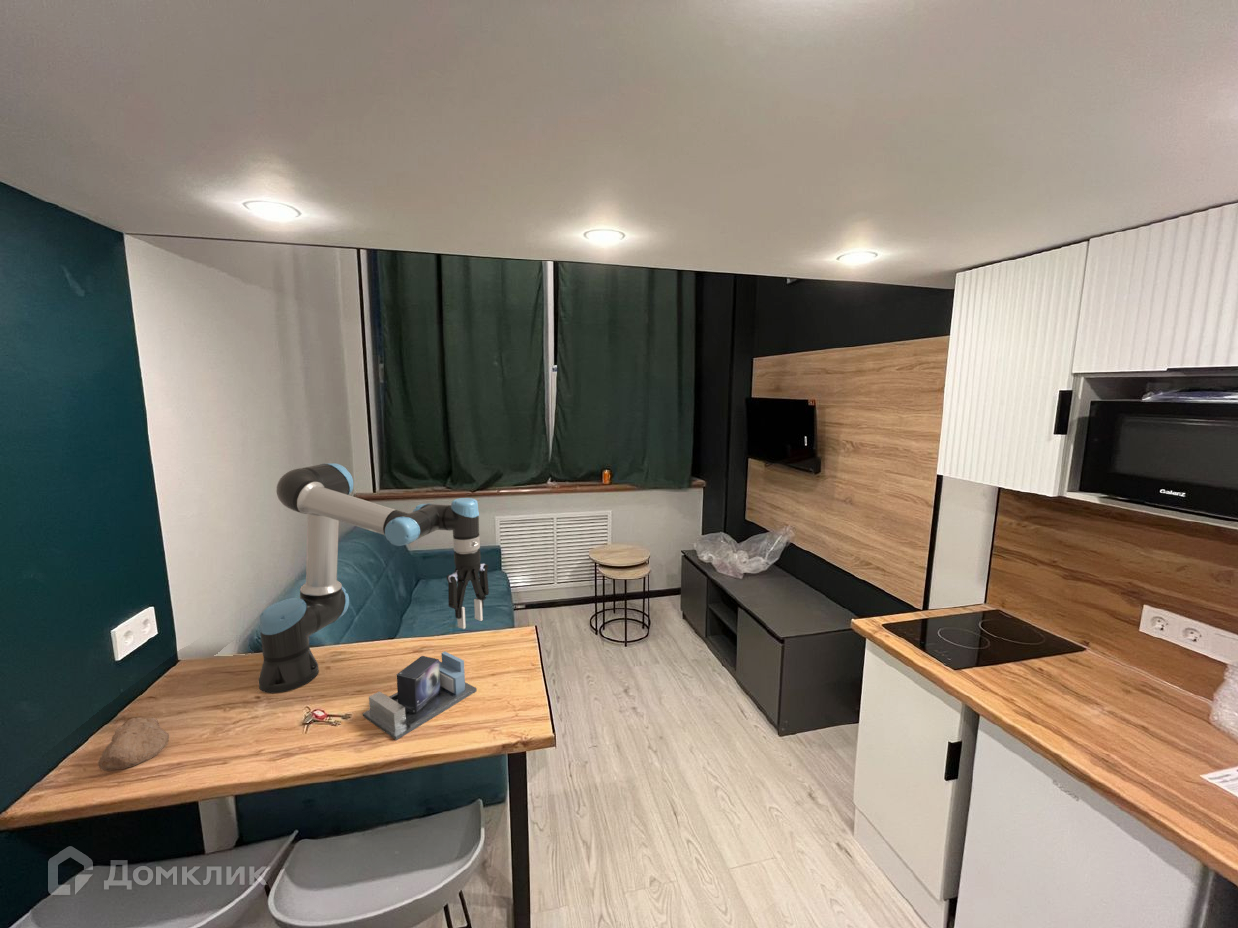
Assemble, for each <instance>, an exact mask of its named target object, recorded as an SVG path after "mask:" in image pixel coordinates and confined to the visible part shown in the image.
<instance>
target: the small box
mask: <svg viewBox="0 0 1238 928" xmlns="http://www.w3.org/2000/svg"><path fill="white" fill-rule="evenodd" d="M439 661H440V659H439V658H435V657H431V656H425V655H421V656H419V657H418V658H417V659H416V660H414V661H413V662H411V663H410V664H409V665H407V666H406V667H405V668H403V669H402V670H400V671H399V672H398V673H397V674H396V690H397V692H396V693H398V703H399V704H401V705H402V706H404V707H405V711H406V712H410V713H415V714H416V713H418V712H419V711H420V710H421V709H422V708H423V707H424V706H425V705H427V704H428V703H429V702H430V701H431V700H432V699H433V698H434V697H436V696H437V695H438V694H439V693H440V671H439Z"/></svg>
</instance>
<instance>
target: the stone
mask: <svg viewBox="0 0 1238 928" xmlns="http://www.w3.org/2000/svg"><path fill="white" fill-rule="evenodd" d="M169 738H170V734H169V732H166V730H164V729H163V728H162V727H161V726H160V724H159V721H158V719H157V718H155V717H150V716H149V717H140V716H139V717H138V716H137V717H132V718H130V719H127V720H126V721H124V723H123V724H122V725H120V727H119V726H118V727H117V728H116V729H115V730H114V734H113V736H112V737H111V742H110V743H108V744H107V746H106V747H105V749H104V750H103V751H102V754H101V756H100V757H99V760H98V763H97V765H98V767H99V768H100V770H101V771H102V770H103V771H107V772H109V771H115V770H119V769H121V770H122V769H127V768H130V767H135V766H137V765H139V764H141V763H145V762H147V761H150V760H151V759H153V758H154V757H155V756H157V755H158V754H159V753H160V752H161V751H162V750H163V748H165V747H166V746H167V745H168V742H169Z"/></svg>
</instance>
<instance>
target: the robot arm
mask: <svg viewBox="0 0 1238 928" xmlns="http://www.w3.org/2000/svg"><path fill="white" fill-rule="evenodd" d="M353 490H354V478H353V476H352V474H351V473H350V471H348V469H347V468H346V467H345V466H343V465H342V464H339V463H334V462H333V463H332V462H331V463H320V464H316V465H311V466H306V467H299V468H295V469H294V468H293V469H291V470H289V471H287V472H286V473H285V474H283V475H282V476H281V477H280V478H279V480H278V481H277V485H276V491H275V492H276V496H277V498H278V500H279V501H280V502H281V504H282V505H283V506H285V507H286V508H287V509H290V510H291V511H294V512H298V513H300V514H304V515H307V518H306V519H307V520H306V523H307V525H306V560H305V561H306V562H305V563H306V566H305V569H306V570H305V583H304V584H303V585H301V587H300V590H299V597H292V598H291V597H290V598H286V599H284V600H279V601H276V602H274V603H272V604H270V605H268V606H267V607H266V608H265V609H264V610H263V611H262V612H261V613H260V615H259V626H258V627H259V632H260V640H261V648H262V657H263V663H262V665H261V670H260V673H259V677H258V688H259V690H260V691H261V692H264V693H267V694H279V693H284V692H289V691H292V690H296V689H298V688H301V687H303V686H304V685H307V684H308V683H310V682H312V681H313V680H314V679H315V678H316V677H317V676H318V675H319V671H320V669H319V663H318V661H317V660H316V658H315V656H314V654H313V652H312V650H311V649H310V638H309V637H310V636H311V635H313V634H315V633H317V632H318V631H320V630H323V629H324V628H326V627H327V626H329V625H330V624H333V623H335V622H337V621H338V620H339V619H340V618H342V617H343V615H345V614H346V613H347V611H348V608H349V606H350V597H349V594H348V593H347V590H346V589H345V587H344V586H343V585H342V583H341V582H340V581H339V580H338V556H339V555H338V551H339V525H340V524H339V523H340V522H341V523H345V524H348V525H351V526H355V527H358V528H361V529H364V530H368V531H370V532H373V533H376V534H380V535H383V536H385V538H386V540H387V541H389V543H390V544H391V545H392V546H395V547H401V546H406V545H409V544H411V543H414V542H415V541H417V540H420V539H421V538H424V537H425V536H428V535H429V534H432V533H433V532H436V531H452V538H453V539H452V541H453V542H452V543H453V545H452V546H453V551H454V552H453V560H454V561H453V562H454V565H455V568H454V569H455V570H454V572H453V573H452V574H447V575H446V580H447V583H448V586H447V587H448V603H447V604H448V607H449V608H451V609H454V614H455V615H454V616H455V618H456V619H457V620H456V621H457V627H458V628H460V629H462V630H465V629H466V610H465V609H466V607H465V606H463V605H464V599H465V595H466V590H467V589H466V588H467V586H468V583H469V582H471V585H472V587H473V591H474V594H475V597H476V598H474V599H473V602H474V603H473V606H474V619H475V620H477V621H480V622H481V621H483V620H484V619H483V618H484V617H483V609H484V606H485V605H484V601H485V600H486V599H487V596H488V595H489V594H490V591H489V589H490V588H489V579H488V578H489V577H488V569H489V564H486V563H483V562H482V563H480V562H481V549H480V548H481V542H480V539H481V537H480V512H479V503H478V500H477V499H475V498H471V497H459V498H456V499H454V500H452V501H451V505H450V504H437V503H435V504H434V503H421V504H418V505H417V506H416V507H415V508H414V509H413V511H412V512H409V513H408V512H405V511H402V510H397V509H394V508H393V507H388V506H384V505H381V504H378V503H375V502H373V501H368V500H365V499H362V498H359V497H356V496H353V495H350V494H351V493H352V492H353Z"/></svg>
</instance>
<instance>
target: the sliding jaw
mask: <svg viewBox="0 0 1238 928" xmlns="http://www.w3.org/2000/svg"><path fill="white" fill-rule="evenodd" d="M439 671H440V686H441V687H443V688H445V689H447V690H449V691H450V692H452V693H454V694H456V695H457V694H458V693H460V692H462V691H463V690H465V682H466V678H465V675H466V674H465V660H464V659H462V658H460V657H457V656H455V655H453V654H450V653H449V652H447V651H442V652H441V661H440V660H439Z"/></svg>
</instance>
